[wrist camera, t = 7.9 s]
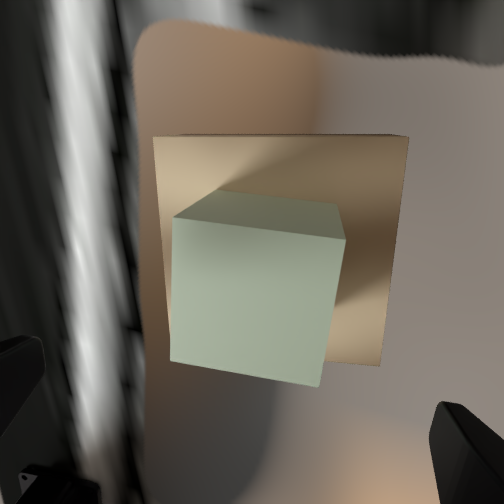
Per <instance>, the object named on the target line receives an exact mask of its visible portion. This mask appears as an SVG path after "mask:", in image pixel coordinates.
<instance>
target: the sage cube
mask: <svg viewBox="0 0 504 504" xmlns="http://www.w3.org/2000/svg"><path fill="white" fill-rule="evenodd" d="M345 243H346V238H345V234H344V230H343V226H342V222H341V218H340V214H339V210H338V206H337V204H334V203H326V202H317V201H309V200H301V199H292V198H284V197H275V196H267V195H258V194H250V193H242V192H233V191H225V190H214V191H213V192H211V193H210V194H208V195H206V196H205V197H203V198H202V199H200V200H199V201H197V202H195V203H194V204H192V205H191V206H189V207H188V208H186V209H184V210H183V211H181V212H180V213H178V214H177V215H175V216H174V217H172V274H171V338H170V340H171V342H170V361H174V362H179V363H185V364H191V365H196V366H201V367H207V368H212V369H218V370H223V371H230V372H235V373H240V374H245V375H251V376H257V377H262V378H268V379H273V380H279V381H285V382H290V383H295V384H301V385H306V386H312V387H317V388H319V386H320V380H321V375H322V369H323V364H324V358H325V353H326V347H327V342H328V336H329V331H330V325H331V320H332V314H333V309H334V303H335V298H336V292H337V287H338V281H339V276H340V270H341V265H342V259H343V254H344V248H345Z"/></svg>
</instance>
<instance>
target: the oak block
mask: <svg viewBox="0 0 504 504" xmlns="http://www.w3.org/2000/svg"><path fill="white" fill-rule="evenodd" d="M408 143H409V137H406V136H398V135H392V134H180V135H168V136H154V137H153V144H154V155H155V166H156V167H155V168H156V178H157V189H158V190H157V191H158V201H159V213H160V225H161V237H162V248H163V260H164V271H165V283H166V294H167V306H168V317H169V329H170V338H171V274H172V217H174V216H175V215H177V214H178V213H180V212H181V211H183V210H184V209H186V208H188V207H189V206H191V205H192V204H194V203H195V202H197V201H199V200H200V199H202V198H203V197H205V196H206V195H208V194H210V193H211V192H213V191H214V190H225V191H233V192H242V193H250V194H258V195H267V196H275V197H284V198H292V199H301V200H309V201H317V202H326V203H334V204H337V206H338V210H339V214H340V218H341V222H342V226H343V230H344V234H345V238H346V243H345V248H344V254H343V259H342V265H341V270H340V276H339V281H338V287H337V292H336V298H335V303H334V309H333V314H332V320H331V325H330V331H329V336H328V342H327V347H326V353H325V358H324V361H328V362H338V363H349V364H359V365H370V366H380V361H381V353H382V345H383V336H384V329H385V322H386V314H387V305H388V298H389V290H390V283H391V274H392V267H393V259H394V251H395V244H396V236H397V228H398V220H399V212H400V204H401V196H402V189H403V181H404V173H405V165H406V158H407V150H408Z"/></svg>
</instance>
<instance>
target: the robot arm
mask: <svg viewBox="0 0 504 504" xmlns="http://www.w3.org/2000/svg"><path fill="white" fill-rule="evenodd" d="M45 368H46V364H45V358H44V351H43V345H42V341H41V340H40V339H39V338H38V337H33V336H27V335H21V336H17V337H14V338H11V339H8V340H5V341H1V342H0V437H1V436H2V435H3V434H4V432H5V431H6V429H7V428H8V427H9V425H10V424H11V422H12V421H13V419H14V418H15V417H16V415H17V414H18V412H19V411H20V409H21V408H22V406H23V405H24V403H25V402H26V401H27V399H28V398H29V396H30V395H31V393H32V392H33V390H34V389H35V388H36V386H37V385H38V383H39V382H40V380H41V379H42V377H43V375H44V373H45ZM429 445H430V451H431V456H432V461H433V467H434V472H435V478H436V483H437V489H438V494H439V500H440V504H504V440H503V439H502V438H501V437H500V436H499V435H497V434H496V433H495V432H494V431H493V430H492V429H490V428H489V427H488V426H487V425H485V424H484V423H483V422H482V421H481V420H480V419H479V418H477V417H476V416H475V415H474V414H473V413H471V412H470V411H469V410H468V409H467V408H465V407H464V406H463V405H461V404H457V403H450V402H445V401H442V402H439V404H438V405H437V407H436V411H435V414H434V418H433V421H432V425H431V428H430V432H429ZM19 481H20V485H21V490H22V496H21V497H20V498H19V500H18V501H17V502H16V503H15V504H102V500H101V491H100V486H99V485H98V484H96V483H94V482H89V481H85V480H80V479H75V478H71V477H66V476H61V475H56V474H52V473H47V472H42V471H38V470H33V469H28V468H25V469H23V470H22V471H21V472H20V474H19Z"/></svg>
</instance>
